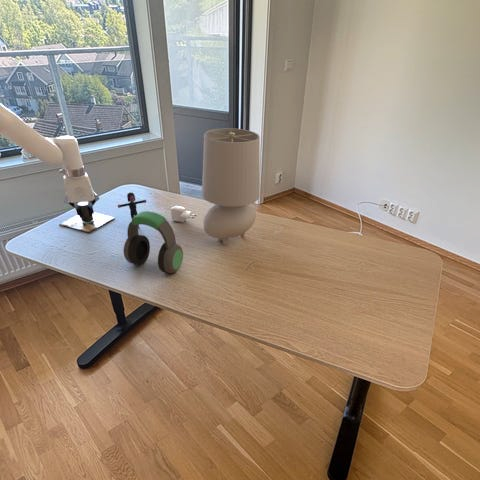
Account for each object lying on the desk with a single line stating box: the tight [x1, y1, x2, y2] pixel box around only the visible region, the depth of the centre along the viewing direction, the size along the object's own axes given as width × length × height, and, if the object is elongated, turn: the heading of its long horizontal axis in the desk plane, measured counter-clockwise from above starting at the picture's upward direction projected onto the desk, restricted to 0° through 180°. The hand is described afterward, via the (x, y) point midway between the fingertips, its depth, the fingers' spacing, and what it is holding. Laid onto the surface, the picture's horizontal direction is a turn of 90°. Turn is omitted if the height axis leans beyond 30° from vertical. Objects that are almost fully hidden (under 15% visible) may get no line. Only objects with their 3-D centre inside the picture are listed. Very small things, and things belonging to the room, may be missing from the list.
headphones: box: [123, 210, 184, 274], centre depth 119 cm, size 19×11×20 cm, turn 70°
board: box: [59, 211, 116, 235], centre depth 149 cm, size 16×16×1 cm
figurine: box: [117, 191, 147, 230], centre depth 143 cm, size 12×4×15 cm, turn 123°
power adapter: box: [170, 205, 198, 223], centre depth 152 cm, size 11×5×6 cm, turn 70°
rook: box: [77, 201, 93, 222], centre depth 146 cm, size 5×5×7 cm
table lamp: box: [201, 127, 261, 246], centre depth 129 cm, size 23×22×40 cm
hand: (86, 215), depth 148 cm, fingers closed on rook, 3 cm apart
